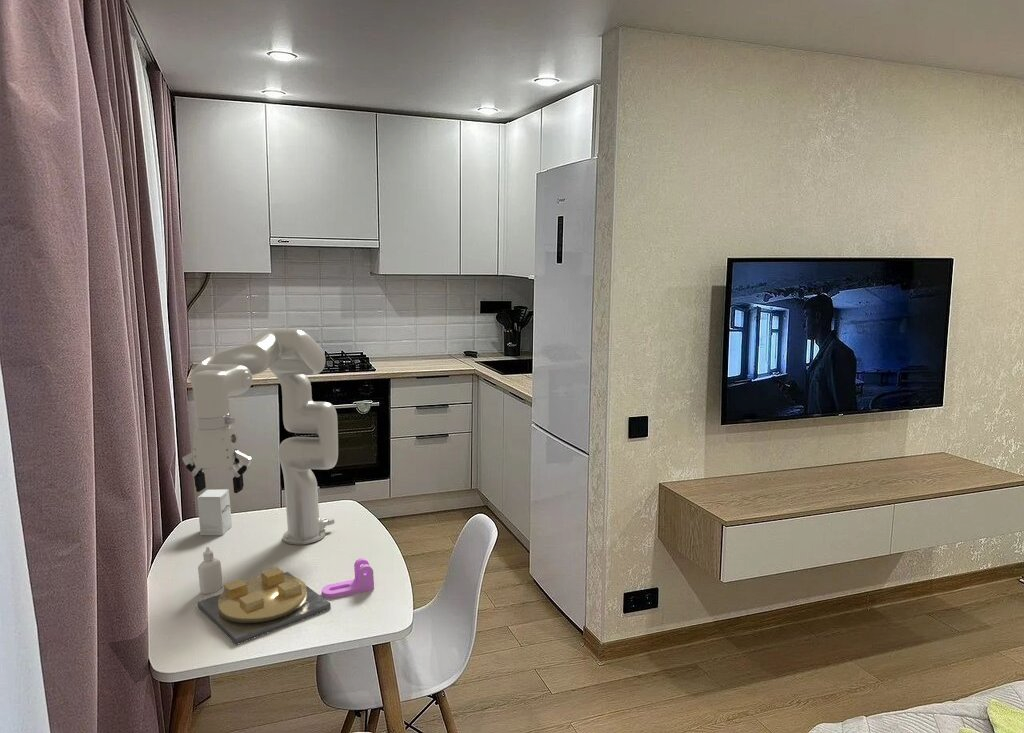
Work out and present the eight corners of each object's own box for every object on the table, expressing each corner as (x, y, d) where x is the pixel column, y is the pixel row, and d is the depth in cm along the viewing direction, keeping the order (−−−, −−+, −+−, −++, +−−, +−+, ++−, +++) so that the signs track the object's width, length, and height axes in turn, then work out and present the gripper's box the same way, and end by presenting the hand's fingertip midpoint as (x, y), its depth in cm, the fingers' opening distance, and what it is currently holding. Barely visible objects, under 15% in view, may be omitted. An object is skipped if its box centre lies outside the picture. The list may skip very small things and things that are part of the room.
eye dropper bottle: (199, 588, 199) (195, 546, 197) (222, 584, 202) (218, 542, 200) (200, 595, 196) (196, 552, 193) (223, 591, 198) (219, 548, 196)
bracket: (369, 581, 202) (367, 556, 201) (374, 589, 197) (372, 565, 196) (320, 591, 197) (318, 566, 196) (324, 600, 192) (322, 575, 191)
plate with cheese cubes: (284, 574, 203) (283, 558, 202) (321, 601, 187) (320, 585, 187) (205, 600, 189) (204, 584, 188) (239, 632, 174) (237, 614, 173)
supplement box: (223, 535, 234) (219, 497, 232) (199, 535, 234) (196, 497, 232) (232, 526, 241) (229, 488, 239) (210, 526, 242) (206, 488, 239)
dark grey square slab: (287, 576, 205) (287, 571, 205) (330, 608, 188) (330, 602, 187) (198, 607, 190) (197, 601, 189) (236, 645, 172) (235, 638, 172)
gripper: (255, 418, 182) (260, 486, 185) (188, 417, 184) (195, 484, 187) (239, 427, 174) (245, 497, 178) (170, 425, 177) (177, 495, 180)
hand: (219, 490), depth 182 cm, fingers open, 9 cm apart
